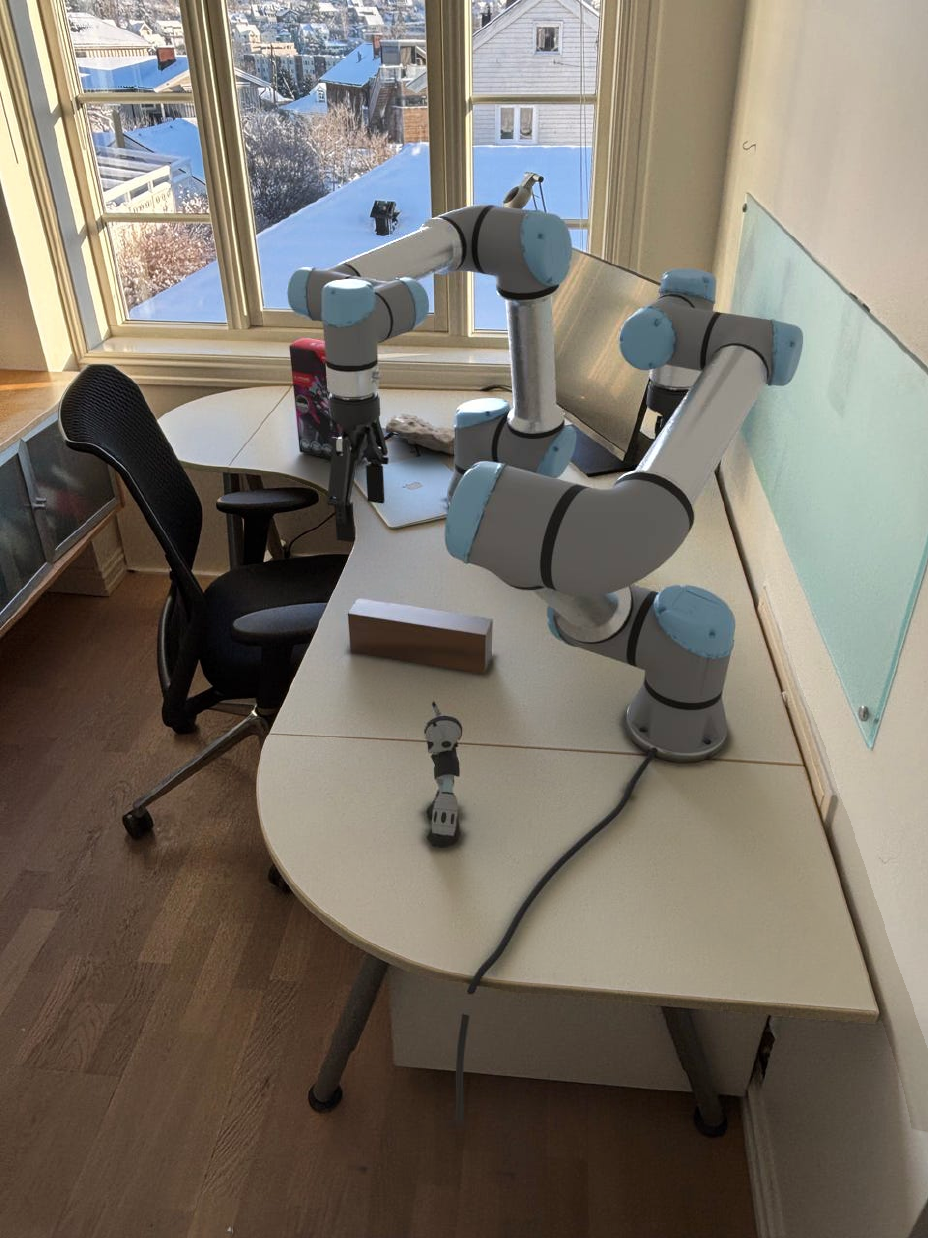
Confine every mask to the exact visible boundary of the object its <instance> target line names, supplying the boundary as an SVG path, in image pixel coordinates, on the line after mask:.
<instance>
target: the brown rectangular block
mask: <svg viewBox="0 0 928 1238" xmlns="http://www.w3.org/2000/svg"><path fill="white" fill-rule="evenodd" d="M347 621H348V622H347V623H348V624H347V625H348V637H349V649H350V652H351V653H356V654H362V655H368V656H374V657H379V658H386V659H392V660H398V661H404V662H410V663H415V664H416V663H417V664H422V665H428V666H434V667H441V668H446V669H453V670H459V671H465V672H470V673H476V674H481V675H486V672H487V669H488V667H489V666H490V663H491V660H492V657H493V627H494V625H493V624H494V619H493V618H490V617H484V616H477V615H470V614H465V613H457V612H451V611H444V610H438V609H431V608H424V607H419V606H413V605H406V604H398V603H392V602H387V601H386V602H385V601H380V600H379V601H378V600H372V599H367V598H359V597H357V598H356V600H355V602H354V603H353V605H351V608H350V609H349V611H348V612H347Z"/></svg>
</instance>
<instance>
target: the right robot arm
mask: <svg viewBox="0 0 928 1238" xmlns="http://www.w3.org/2000/svg"><path fill="white" fill-rule="evenodd" d="M716 291H717V279H716V277H715V275H714V274H712V273H711V272H709V271H706V270H702V269H696V268H673V269H669V270H667V271H666V272H664V274H662V277H661V282H660V287H659V289H658V298H657V299H656V300H654V301H652V302H650V303H649V304H647V305H645V306H642V307H641V308H640V307H639V309H637V310H636V311H635V312H634V313H633V314H632V315H630V316H629V317H628V318H627V319H626V321H625V322H624V323H623V324H622V326H621V328H620V331H619V335H618V347H619V351H620V353H621V356H622V357H623V359H624V360H625V361H626V362H627V363H628V364H629V365H630V366H631V367H632V368H635V369H637V370H640V371H649V375H648V378H649V380H650V381H649V382H648V385H647V393H646V401H645V403H646V407H647V408H648V409H649V410H650V411H652V412H654V413H657V417H656V420H655V424H654V440H653V443H652V444H651V446H650V447H649V449H648V451H647V452H646V453H645V455H644V456H643V458H642V460H640V462H639V464H638V465H637V467H636V468H635V470H633V471H629V472H626V473H624V474H623V475H621V476H620V477H618V479H617V480H616V481H615V483H614V484H613V485H612V487H610V488H607V489H600V488H594V487H590V486H586V485H584V484H583V485H582V484H579V483H575V482H571V481H566V480H563V479H560V478H552V477H548V476H545V475H541V474H537V473H533V472H530V471H526V470H522V469H519V468H515V467H511V466H507V465H506V464H505V463H496V462H489V461H482V462H478V463H476V464H474V465H473V466H472V467H471V468H470V469H469V470H468V471H467V472H466V473H465V474H464V476H463V477H462V479H461V480H460V482H459V484H458V486H457V488H456V490H455V492H454V494H453V497H452V499H451V502H450V505H449V506H448V509H447V513H446V518H445V526H444V544H445V547H446V550H447V552H448V554H449V555H450V556H451V557H452V558H453V559H454V558H455V559H457V560H458V561H461V562H462V563H463V564H466V565H468V564H471V565H474V566H477V567H480V568H483V569H485V570H487V571H488V572H491V573H492V575H495V576H496V577H497V578H498V579H499V580H500V581H502V582H503V583H504V584H506V585H507V586H509V587H510V588H513V589H516V590H520V591H525V592H526V591H527V592H531V591H532V592H534V593H535V594H536V595H537V596H538V597H539V598H541V599H542V600H543V601H544V602H546V604H547V608H546V609H547V610H546V618H548V620H547V626H548V629H549V631H550V633H551V634H552V636H553V637H554V638H556V639H557V640H558V641H561V642H563V644H566V645H568V646H570V647H573V648H578V649H582V650H585V651H587V652H590V653H594V654H597V655H599V656H602V657H606V658H608V659H612V660H614V661H617V662H620V663H623V664H626V665H629V666H631V667H634V668H637V669H640V670H643V671H644V677H643V682H642V684H641V685H640V688H639V689H638V691H637V692H636V694H635V695H634V697H633V699H632V701H631V702H630V704H629V705H628V707H627V711H626V719H625V728H626V732H627V734H628V736H629V738H630V739H631V741H632V742H634V744H636V745H637V746H638V747H639V748H640V749H641V750H643V751H645V752H646V753H648V754H647V756H646V757H645V758H644V760H643V761H642V762H641V764H640V765H639V767H638V768H637V769H636V771H635V773H634V774H633V776H632V778H631V779H630V781H629V783H628V785H627V787H626V789H625V792H624V794H623V796H622V798H621V799H620V801H619V803H618V804H617V805H616V807H615V808H614V809H613V810H612V811H611V812H610V813H608V815H607V816H605V818H603V819H602V820H601V821H600V822H599V823H598V824H596V825H595V826H593V828H592V829H590V830H589V831H587V833H586V834H585V835H584V836H582V837H581V839H579V840H578V841H577V842H576V843H575V844H574V845H573V846H572V847H570V848H569V849H568V850H567V851H566V852H565V853H564V854H563V855H562V856H561V857H560V858H559V859H558V860H557V861H556V862H555V863H554V864H553V865H552V866H551V867H550V868H549V870H547V871H546V873H545V874H544V875H543V876H542V877H541V879H540V880H539V881H538V882H537V883H536V885H535V886H534V888H532V890H531V891H530V892H529V894H528V896H527V897H526V899H525V900H524V902H523V903H522V904H521V906H520V907H519V909H518V910H517V912H516V914H515V916H514V917H513V919H512V921H511V923H510V925H509V926H508V929H507V930H506V932H505V934H504V936H503V938H502V939H501V941H500V943H499V944H498V946H497V947H496V948H495V950H494V951H493V953H492V954H491V955H490V956H489V957H488V958H487V959H486V960H485V961H484V962H483V963H482V964H481V966H480V967H479V968H478V969H477V971H476V972H475V973H474V976H473V978H472V979H471V982H470V983H469V986H468V989H467V990H466V992H467V995H473V994H475V992H476V991H477V988H478V986H479V984H480V982H481V980H482V979H483V977H484V976H485V974H486V973H487V971H488V970H489V969H490V968H492V967H493V966H494V964H495V963H496V962H497V961H498V960H499V958H500V957H501V956H502V954H503V953H504V951H505V950H506V948H507V946H508V945H509V943H510V942H511V939H512V938H513V937H514V934H515V932H516V931H517V928H518V927H519V924H520V923H521V921H522V919H523V917H524V916H525V914H526V913H527V911H528V909H529V908H530V906H531V905H532V903H533V902H534V901H535V900H536V898H537V896H538V895H539V893H540V892H541V891H542V890H543V889H544V887H545V886H546V885H547V884H548V883H549V881H550V880H551V879H552V878H553V877H554V875H555V874H557V872H558V871H559V870H560V869H561V868H562V867H563V866H564V865H565V864H566V862H568V861H569V860H570V859H571V858H572V857H573V856H574V855H575V854H576V853H578V851H580V850H581V849H582V848H583V847H585V845H586V844H587V843H588V842H590V840H592V838H594V837H595V836H596V835H597V834H598V833H600V832H601V831H602V830H603V829H604V828H606V827H607V826H608V825H609V824H610V823H611V822H613V821H614V819H616V818H617V816H618V815H619V814H620V813H621V812H622V810H623V809H624V807H625V806H626V804H627V803H628V802H629V800H630V797H631V795H632V793H633V791H634V788H635V786H636V784H637V783H638V781H639V779H640V778H641V775H643V772H645V770H646V769H647V767H648V765H649V764H650V763H651V761H652V760H653V758H654V757H656V758H659V759H662V760H666V761H670V762H675V763H694V762H700V761H703V760H706V759H709V758H711V757H714V755H716V754H718V752H720V751H721V750H722V748H723V747H724V744H725V743H726V740H727V739H726V738H727V734H728V721H727V716H726V712H725V708H724V707H725V706H724V701H723V692H724V686H725V682H726V678H727V674H728V668H729V664H730V659H731V654H732V652H733V649H734V646H735V631H736V617H735V615H734V612H733V611H732V609H730V607H729V605H728V603H726V601H725V600H724V599H722V598H721V597H719V596H718V595H717V594H715V593H713V592H711V591H709V590H707V589H705V588H702V587H699V586H695V585H690V584H684V585H682V586H681V585H679V584H672V585H669V586H666V587H664V588H662V589H661V590H660V591H659V592H658V591H655V590H653V589H650V588H646V587H643V586H639V585H636V583H638V582H639V581H641V580H643V579H644V578H646V577H648V576H649V575H650V574H651V573H653V572H655V571H656V570H657V569H660V568H661V567H662V565H664V564H665V563H666V562H667V561H668V560H669V559H670V558H671V557H672V556H674V554H675V553H676V552H677V551H678V550H679V549H680V547H681V546H682V545H683V543H684V542H685V540H686V539H687V537H688V535H689V533H690V531H691V530H692V528H693V526H694V524H695V520H696V510H695V504H696V503H697V501H698V499H699V498H700V496H701V495H702V493H703V492H704V490H705V487H706V486H707V484H708V482H709V481H710V479H711V477H712V476H713V474H714V472H715V471H716V469H717V467H718V465H719V464H720V462H721V460H722V459H723V457H724V456H725V453H726V452H727V451H728V449H729V447H730V445H731V444H732V442H733V440H734V438H735V436H737V433H738V432H739V430H740V428H741V427H742V425H743V423H744V422H745V420H746V418H747V416H748V414H749V413H750V411H751V409H752V408H753V406H754V405H755V403H756V401H757V399H758V398H759V396H760V394H761V393H762V391H763V389H764V388H765V386H766V385H767V386H770V387H772V386H776V387H777V386H778V387H784V386H786V385H788V384H789V383H791V381H792V380H793V379H794V377H795V374H796V372H797V369H798V368H799V367H798V366H799V364H800V360H801V357H802V352H803V347H804V333H803V330H802V328H800V327H799V326H798V325H795V324H792V323H788V322H783V321H779V320H776V319H775V318H771V319H768V318H767V319H766V318H761V317H753V316H747V315H740V314H733V313H726V312H720V311H716V310H715V311H714V307H715V306H714V305H715V304H716V303H717V302H716V301H717V299H716ZM469 1023H470V1015H468V1014H465V1013H462V1014H461V1019H460V1027H459V1033H458V1040H457V1049H456V1063H455V1124H456V1125H457V1126H461V1125H462V1124H463V1113H464V1066H465V1065H464V1062H465V1050H466V1042H467V1041H466V1040H467V1036H468V1035H467V1034H468V1028H469Z"/></svg>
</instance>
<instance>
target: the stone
mask: <svg viewBox="0 0 928 1238" xmlns="http://www.w3.org/2000/svg"><path fill="white" fill-rule="evenodd" d="M384 431H385V433H387V434H389V433H394V434H397V436H398V437H399V438H402V439H405V440H406V441H407V443H408V444H411V445H416V444H418V445H419V446H422V447H424V448H428V449H430V450H432V451H433V450H434V451H438V452H439V451H441V452H444V453H446V454H450V455H455V428H454V427H451V428H450V427H449V428H448V427H444V426H439V425H438V426H437V425H433V424H431V423H429V422H427V421H424V420H423V419H421V418H418V417H417V415H413V414H412V415H411V414H406V413H404V414H401V415H393V416H392V417H390V419H389V420H388V421H387V422H386V425H385V430H384Z"/></svg>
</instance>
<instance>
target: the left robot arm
mask: <svg viewBox="0 0 928 1238" xmlns="http://www.w3.org/2000/svg"><path fill="white" fill-rule="evenodd" d="M572 243H573V242H572V238H571V234H570V230H569V228H568V225H567V224H566V222H565V221H564V220H563V219H561V216H559V215H557V214H555V213H551V212H546V211H543V210H540V209H524V208H517V207H507V206H501V205H494V204H488V203H487V204H482V203H481V204H475V205H468V206H465V207H461V208H458V209H454V210H451V211H447V212H445V213H442V214H439V215H436V216H434V217H432V218H430V219H427V220H426V221H425V222H424V223H423V224H422V225H421V227H420V228H419V230H417V231H414V232H412V233H410V234H408V235H407V234H406V235H405V236H403V237H401V238H398V239H396V240H393V241H390V242H388V243H386V244H383V245H381V246H379V247H376V248H374V249H371V250H369V251H367V252H364V253H362V254H359V255H356V256H355V257H352V258H350V259H347V260H345V261H343V262H340V263H338V264H335V265H332V266H330V267H327V268H322V269H319V268H318V267H313V266H312V267H299V268H298V269H296V270H295V271H294V272H293V273H292V275H291V276H290V278H289V280H288V284H287V289H286V295H287V302H288V305H289V307H290V309H291V310H292V311H293V313H294V314H295V315H297V316H299V317H302V318H305V319H309V320H311V321H312V322H321V323H322V329H323V341H324V342H325V352H326V373H327V389H328V391H329V392H330V394H329V410H330V417H331V419H332V420H333V421H335V422H337V423H338V424H339V425H340V426H341V432H340V436H339V438H332V458H331V459H330V467H329V478H328V488H327V497H326V504H327V505H328V506H332V507H334V517H335V518H334V519H335V532H336V540H337V541H342V542H348V543H354V542H355V541H356V531H355V516H354V502H353V501H351V499H352V492H353V488H354V482H355V476H356V473H357V467H358V464H359V463H360V462H361V461H362V460H361V458H362V453H363V454H364V456H365V457H366V458H365V460H366V461H367V463H366V464H365V478H366V479H365V480H366V498H367V502H368V503H375V504H381V505H382V504H383V505H384V503H385V483H384V482H385V481H384V465H388V464H389V462H390V461H389V457H387V456H388V453H389V452H388V447H387V443H386V440H385V436H384V432H383V428H382V425H381V422H380V416H381V397H380V393H379V391H378V390H379V388H380V386H379V385H380V384H379V382H380V381H379V380H380V379H381V378H382V373H381V372H380V371H379V357H378V344H381V343H383V342H385V341H387V340H390V339H393V338H395V337H398V336H401V335H403V334H407V333H410V332H412V330H414V329H416V328H417V327H419V326H421V325H422V324H423V323H424V322H425V321H426V320H427V318H428V315H429V312H430V301H429V296H428V293H427V291H426V289H425V287H424V286H423V285H422V284H421V283H420V281H423V280H425V279H427V278H429V277H431V276H433V275H435V274H436V275H437V274H438V275H441V276H443V275H444V276H445V275H450V274H451V273H454V272H471V273H477V274H481V275H488V276H492V277H494V279H495V288H496V289H495V290H496V293H497V295H498V296H499V297H500V298H502V300H504V301H505V310H506V325H507V337H508V350H509V351H508V352H509V363H510V375H511V386H512V387H511V388H512V389H511V391H512V401H513V408H511V406H510V403H509V402H508V401H507V400H505V399H502V398H495V397H490V398H477V399H473V400H469V401H466V402H464V403H463V404H461V405H459V406H458V407H457V409H456V410H455V415H454V423H453V424H454V425H453V428H454V429H455V454H454V470H453V473H452V477H451V480H450V482H449V485H448V487H447V491H446V495H445V496H446V497H447V499H446V505H447V507H449V503H450V502H451V499H452V497H453V494H454V492H455V490H456V488H457V486H458V484H459V482H460V480H461V479H462V477H463V476H464V474H465V473H466V472H467V471H468V470H469V469H470V468H471V467H472V466H473V465H474V464H476V463H478V462H482V461H489V462H496V463H505V464H506V465H507V466H511V467H515V468H519V469H522V470H526V471H530V472H533V473H537V474H541V475H545V476H548V477H552V478H556V479H559V477H561V475H563V473H564V472H565V471H566V469H567V467H569V464H570V462H571V460H572V457H573V455H574V452H575V448H576V445H577V431H576V429H575V428H574V427H572V426H571V425H566V424H565V423H566V422H565V413H564V410H563V408H562V407H560V406H559V405H558V404H557V392H556V391H557V386H556V362H555V361H556V360H555V338H554V336H555V335H554V312H553V310H554V309H553V296H554V295H555V294H556V293H557V292H558V291H559V289H560V287H561V284H562V283H563V282H564V281H565V279H566V278H567V276H568V274H569V272H570V268H571V265H570V262H571V261H572V259H573V258H572V257H573V244H572ZM350 454H352V455H350ZM446 497H445V498H446ZM447 501H448V502H449V503H448V502H447Z"/></svg>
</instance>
